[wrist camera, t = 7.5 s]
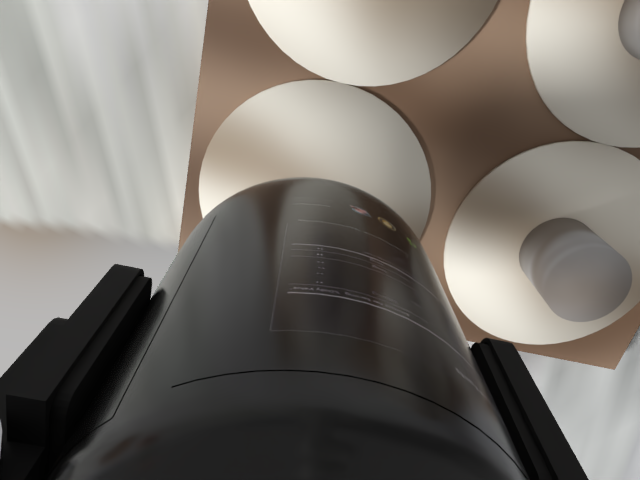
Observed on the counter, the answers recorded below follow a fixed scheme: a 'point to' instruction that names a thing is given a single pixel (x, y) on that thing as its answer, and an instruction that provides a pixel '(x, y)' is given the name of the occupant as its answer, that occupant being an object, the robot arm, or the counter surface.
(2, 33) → the counter surface
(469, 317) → the board
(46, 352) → the robot arm
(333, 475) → the supplement bottle
